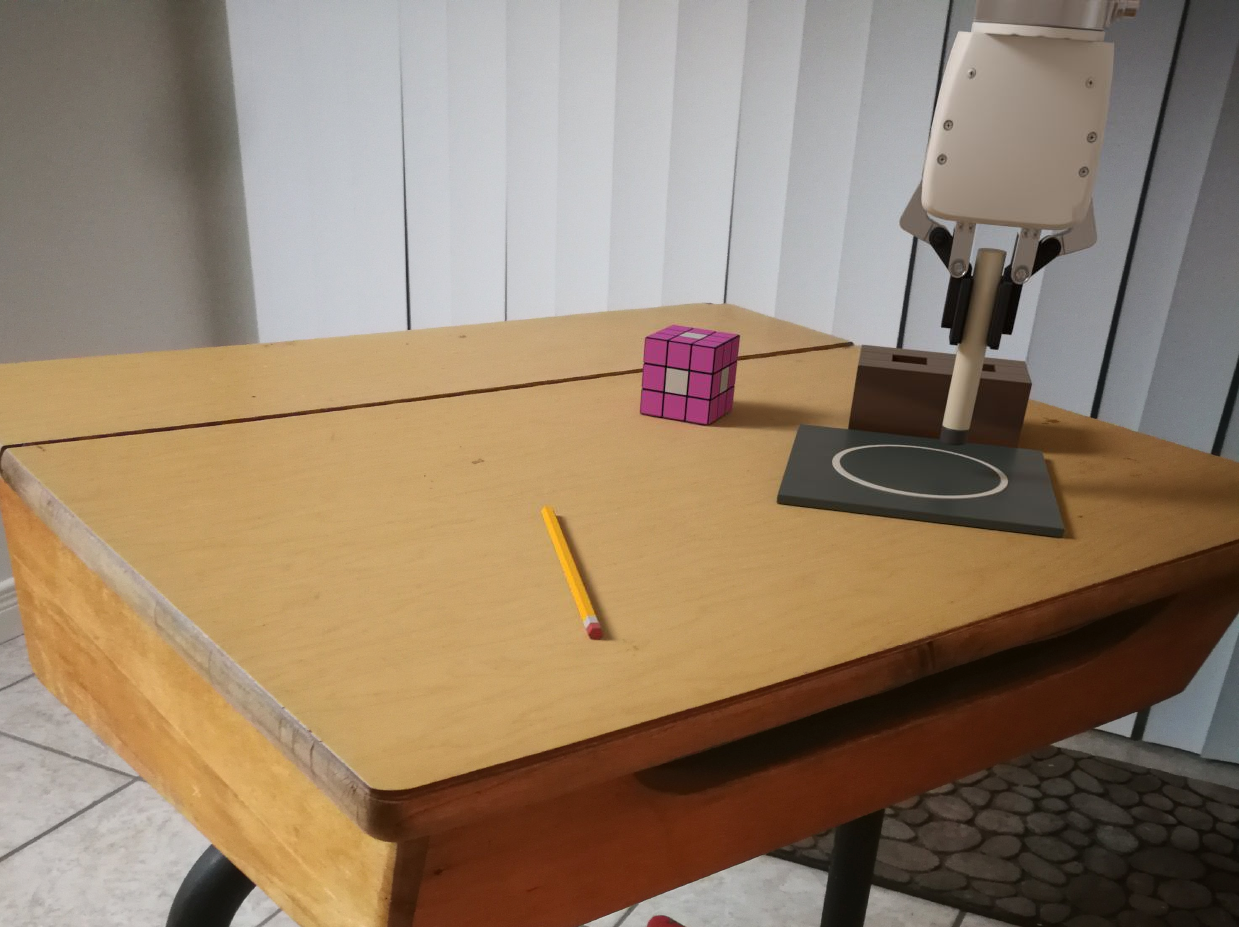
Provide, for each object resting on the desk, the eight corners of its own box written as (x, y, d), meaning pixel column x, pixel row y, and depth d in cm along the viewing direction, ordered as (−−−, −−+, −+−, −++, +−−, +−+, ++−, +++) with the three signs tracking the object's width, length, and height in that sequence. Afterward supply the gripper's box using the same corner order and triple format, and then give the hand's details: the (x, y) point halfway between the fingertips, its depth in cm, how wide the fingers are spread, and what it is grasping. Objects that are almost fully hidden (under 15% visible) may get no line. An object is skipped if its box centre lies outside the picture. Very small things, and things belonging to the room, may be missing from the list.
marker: (965, 439, 88) (1006, 249, 81) (966, 447, 86) (1007, 253, 80) (939, 436, 88) (977, 246, 82) (939, 443, 87) (978, 250, 80)
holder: (851, 408, 105) (861, 344, 102) (1010, 425, 103) (1025, 361, 100) (847, 432, 98) (857, 364, 96) (1016, 451, 96) (1032, 383, 94)
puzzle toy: (666, 398, 104) (672, 323, 101) (732, 409, 102) (740, 334, 99) (639, 413, 99) (644, 336, 96) (708, 425, 98) (715, 347, 94)
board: (1040, 458, 95) (1042, 448, 95) (1062, 537, 80) (1065, 526, 80) (798, 431, 98) (799, 421, 97) (776, 503, 83) (777, 492, 82)
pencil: (587, 640, 63) (588, 627, 63) (540, 517, 78) (541, 505, 78) (603, 640, 64) (604, 627, 63) (553, 517, 79) (554, 506, 78)
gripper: (1174, 19, 76) (1090, 345, 86) (904, -1, 78) (854, 319, 88) (1196, 17, 70) (1104, 369, 80) (903, -4, 72) (849, 341, 82)
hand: (973, 341), depth 84 cm, fingers closed on marker, 1 cm apart
